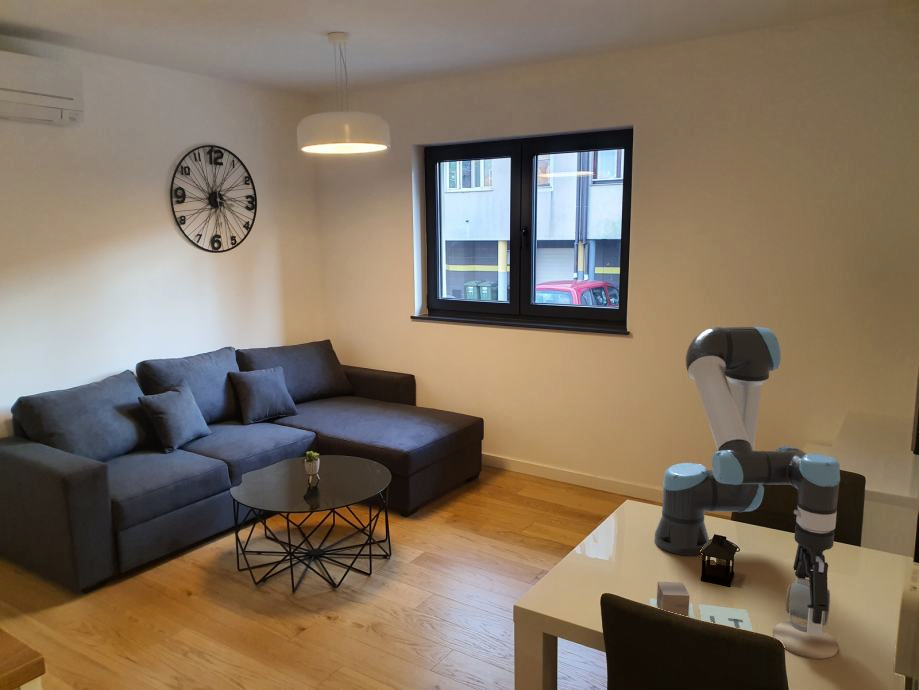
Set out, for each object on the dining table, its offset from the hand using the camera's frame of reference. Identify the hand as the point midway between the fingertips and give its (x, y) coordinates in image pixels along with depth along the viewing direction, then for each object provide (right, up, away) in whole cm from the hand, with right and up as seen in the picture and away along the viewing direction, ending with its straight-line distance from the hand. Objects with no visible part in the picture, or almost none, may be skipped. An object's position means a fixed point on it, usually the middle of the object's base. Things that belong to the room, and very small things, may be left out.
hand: (806, 619), depth 149 cm
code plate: (-15, -4, +8) cm, 17 cm away
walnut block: (-26, -3, +12) cm, 29 cm away
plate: (-26, -3, +12) cm, 29 cm away
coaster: (0, -5, +1) cm, 5 cm away
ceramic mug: (0, -1, 0) cm, 1 cm away
